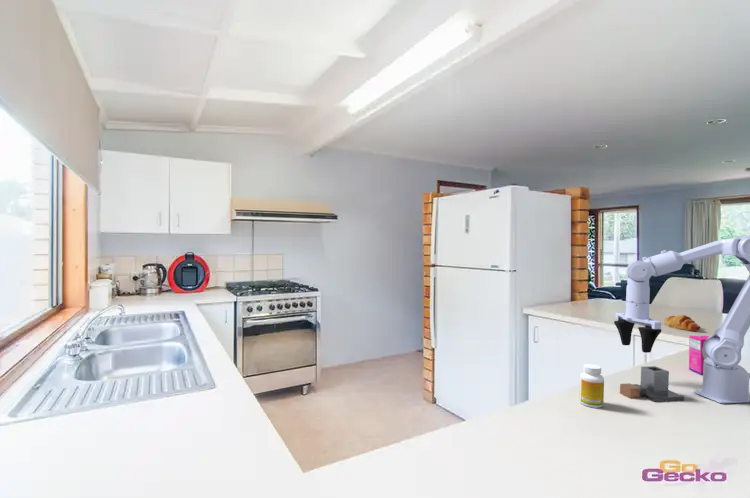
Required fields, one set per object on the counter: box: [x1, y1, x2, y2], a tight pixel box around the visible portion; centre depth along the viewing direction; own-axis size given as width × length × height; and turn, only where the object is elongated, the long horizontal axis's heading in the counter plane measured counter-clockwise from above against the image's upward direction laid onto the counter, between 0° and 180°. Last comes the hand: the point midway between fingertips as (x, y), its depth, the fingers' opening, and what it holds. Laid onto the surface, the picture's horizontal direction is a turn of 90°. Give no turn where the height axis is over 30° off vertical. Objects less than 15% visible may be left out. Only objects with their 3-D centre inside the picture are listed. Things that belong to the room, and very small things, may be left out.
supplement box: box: [688, 335, 711, 376], centre depth 130 cm, size 6×6×12 cm
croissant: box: [664, 314, 701, 332], centre depth 199 cm, size 21×10×8 cm, turn 3°
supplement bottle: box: [578, 363, 605, 409], centre depth 103 cm, size 5×5×10 cm
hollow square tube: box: [639, 365, 670, 394], centre depth 110 cm, size 4×4×6 cm
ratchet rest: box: [619, 383, 685, 403], centre depth 110 cm, size 14×9×4 cm, turn 99°
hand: (635, 348), depth 118 cm, fingers open, 7 cm apart
